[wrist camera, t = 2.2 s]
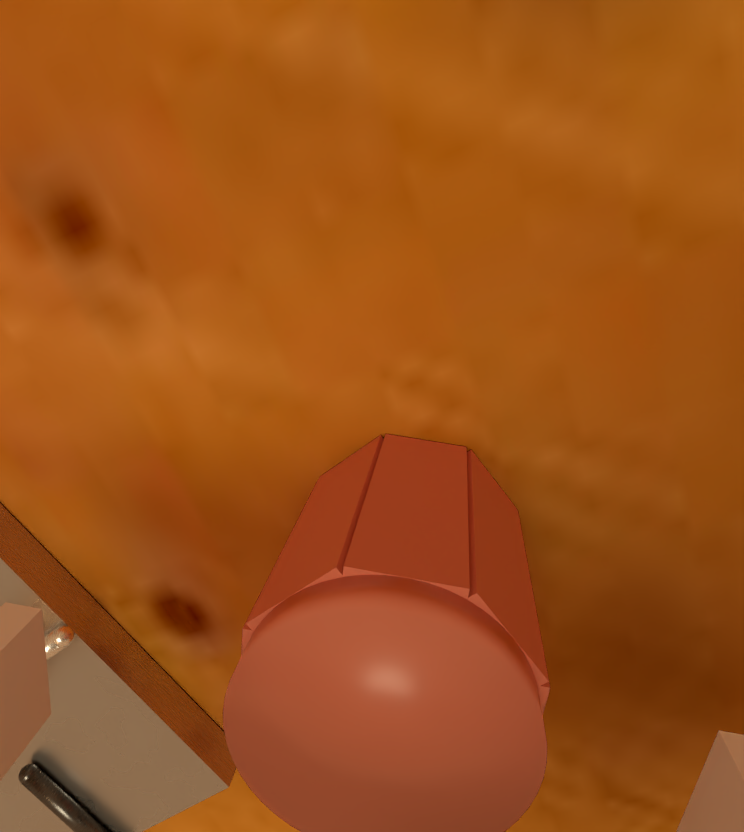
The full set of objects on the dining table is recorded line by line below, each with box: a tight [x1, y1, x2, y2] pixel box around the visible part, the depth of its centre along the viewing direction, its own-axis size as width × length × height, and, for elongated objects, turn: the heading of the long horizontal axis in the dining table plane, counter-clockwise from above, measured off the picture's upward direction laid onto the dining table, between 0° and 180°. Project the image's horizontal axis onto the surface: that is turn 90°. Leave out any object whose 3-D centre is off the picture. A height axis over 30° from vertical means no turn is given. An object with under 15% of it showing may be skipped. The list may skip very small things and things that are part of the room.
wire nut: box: [223, 434, 550, 832], centre depth 15 cm, size 6×6×8 cm
